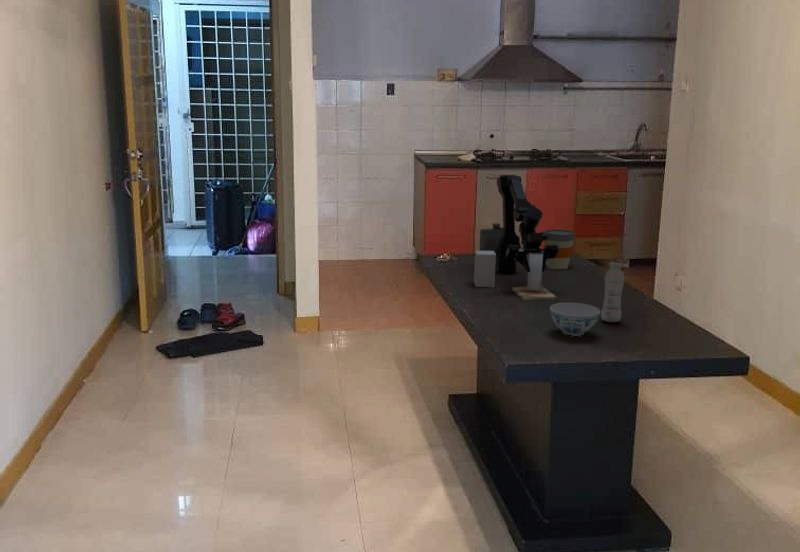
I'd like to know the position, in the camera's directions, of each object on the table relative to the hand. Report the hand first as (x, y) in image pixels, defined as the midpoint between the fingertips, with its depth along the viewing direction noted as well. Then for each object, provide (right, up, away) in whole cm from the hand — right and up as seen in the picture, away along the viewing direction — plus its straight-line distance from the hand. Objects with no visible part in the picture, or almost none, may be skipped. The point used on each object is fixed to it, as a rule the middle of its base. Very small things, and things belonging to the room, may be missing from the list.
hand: (536, 271), depth 282 cm
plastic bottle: (+19, -17, -28) cm, 38 cm away
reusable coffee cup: (+17, +2, +47) cm, 50 cm away
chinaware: (+4, -19, -40) cm, 45 cm away
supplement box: (-17, -5, +16) cm, 24 cm away
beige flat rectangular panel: (0, -8, +3) cm, 9 cm away
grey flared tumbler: (0, -6, +3) cm, 7 cm away
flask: (-9, +3, +47) cm, 48 cm away
